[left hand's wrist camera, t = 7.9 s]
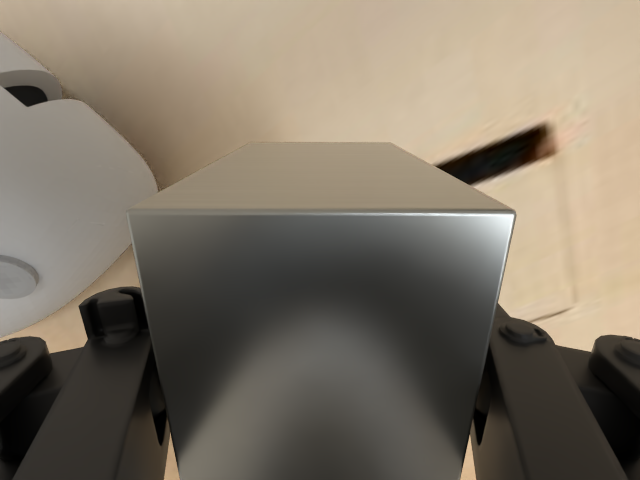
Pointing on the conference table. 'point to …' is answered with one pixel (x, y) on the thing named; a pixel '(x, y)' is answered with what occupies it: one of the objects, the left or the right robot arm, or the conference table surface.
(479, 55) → the conference table surface
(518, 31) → the conference table surface
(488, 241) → the bar
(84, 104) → the projector
